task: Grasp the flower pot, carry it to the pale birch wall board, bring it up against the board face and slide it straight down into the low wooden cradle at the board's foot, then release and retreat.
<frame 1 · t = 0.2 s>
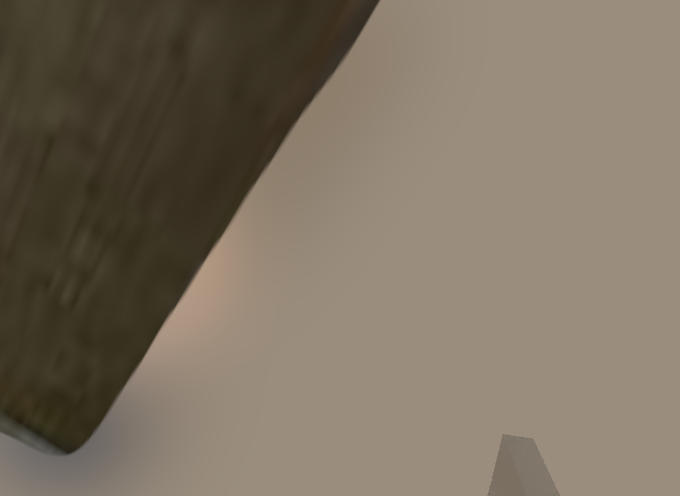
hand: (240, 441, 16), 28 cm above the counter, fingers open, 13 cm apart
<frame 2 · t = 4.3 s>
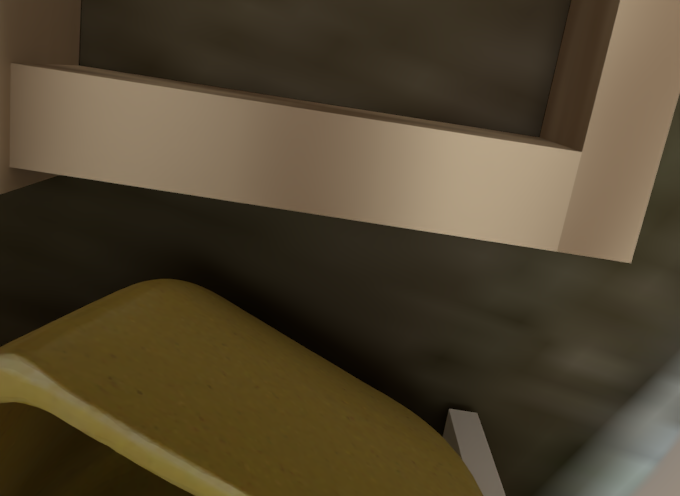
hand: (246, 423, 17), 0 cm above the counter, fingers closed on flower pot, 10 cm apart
flower pot: (250, 411, 17), on the counter, touching gripper
when the fingers open (3 cm above the counter, at t = 10.6 s): flower pot drops 2 cm, resting on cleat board.
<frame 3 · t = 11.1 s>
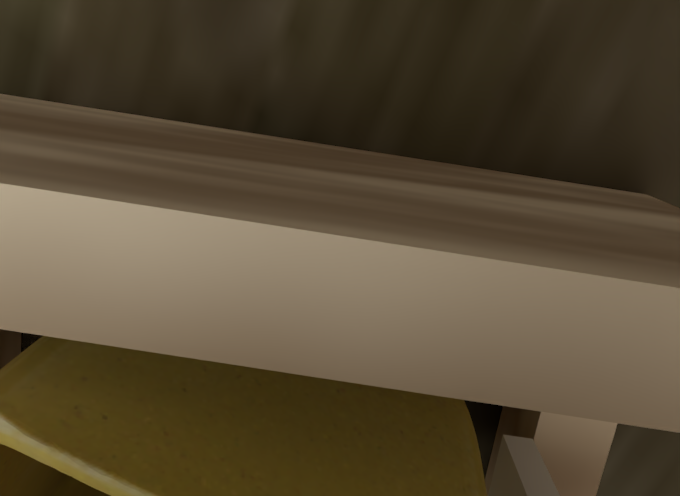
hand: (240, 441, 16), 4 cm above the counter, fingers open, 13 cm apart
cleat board: (267, 336, 19), on the counter
flower pot: (291, 337, 18), point 1 cm above the counter, touching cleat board
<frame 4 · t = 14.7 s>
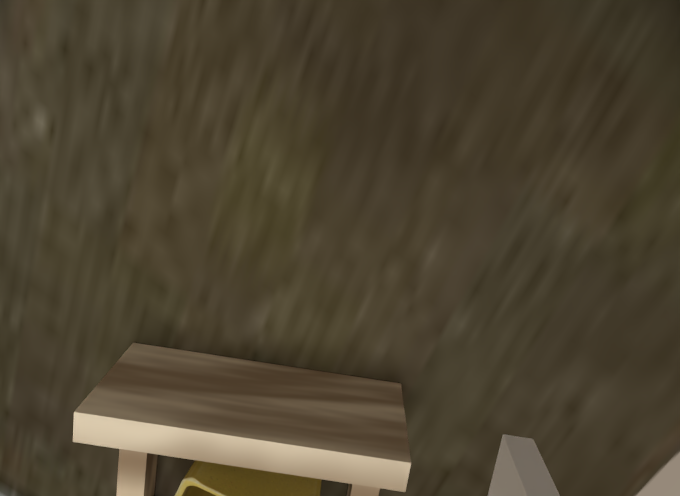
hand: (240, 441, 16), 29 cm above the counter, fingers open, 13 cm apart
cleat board: (257, 434, 48), on the counter
flower pot: (267, 435, 48), point 1 cm above the counter, touching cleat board
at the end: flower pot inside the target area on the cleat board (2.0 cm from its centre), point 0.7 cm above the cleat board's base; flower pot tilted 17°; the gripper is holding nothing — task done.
